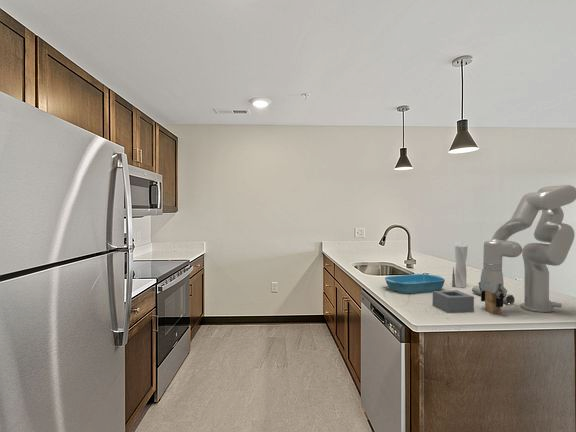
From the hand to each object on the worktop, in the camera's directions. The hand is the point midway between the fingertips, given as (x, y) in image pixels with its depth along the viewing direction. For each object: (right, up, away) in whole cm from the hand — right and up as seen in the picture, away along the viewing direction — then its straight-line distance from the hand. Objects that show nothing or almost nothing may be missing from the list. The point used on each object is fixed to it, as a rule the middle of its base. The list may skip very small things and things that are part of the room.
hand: (491, 304), depth 157 cm
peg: (+1, -4, 0) cm, 4 cm away
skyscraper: (+12, -3, +53) cm, 54 cm away
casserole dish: (-19, -4, +46) cm, 50 cm away
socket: (-15, -4, +6) cm, 17 cm away
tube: (+14, -4, +24) cm, 28 cm away
